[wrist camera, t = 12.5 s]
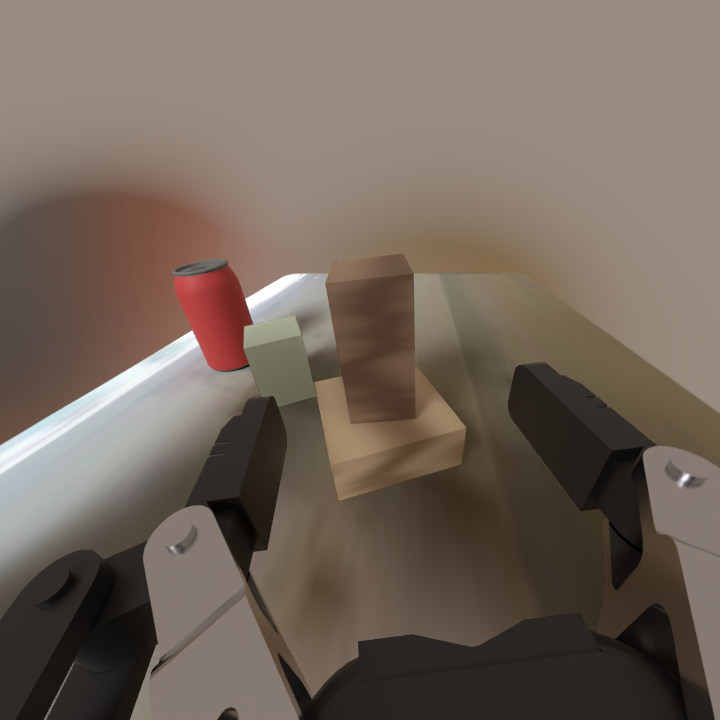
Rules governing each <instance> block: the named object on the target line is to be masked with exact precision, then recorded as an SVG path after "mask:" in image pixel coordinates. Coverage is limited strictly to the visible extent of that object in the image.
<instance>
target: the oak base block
mask: <svg viewBox="0 0 720 720" xmlns="http://www.w3.org/2000/svg"><path fill="white" fill-rule="evenodd" d="M314 384H315V389H316V394H317V399H318V404H319V409H320V414H321V419H322V425H323V430H324V435H325V440H326V445H327V450H328V455H329V461H330V466H331V470H332V474H333V478H334V482H335V486H336V490H337V494H338V499H339V501H340V500H343V499H347V498H350V497H353V496H357V495H360V494H363V493H367V492H370V491H373V490H377V489H380V488H384V487H387V486H390V485H394V484H397V483H400V482H404V481H407V480H411V479H414V478H417V477H421V476H424V475H427V474H431V473H434V472H437V471H441V470H444V469H448V468H451V467H454V466H458V465H461V464H462V459H463V451H464V443H465V435H466V427H465V425H464V424H463V423H462V422H461V420H460V419H459V418H458V417H457V415H456V414H455V413H454V412H453V410H452V409H451V408H450V407H449V405H448V404H447V403H446V402H445V400H444V399H443V398H442V397H441V395H440V394H439V393H438V392H437V390H436V389H435V388H434V387H433V385H432V384H431V383H430V382H429V380H428V379H427V378H426V377H425V375H424V374H423V373H422V372H421V370H420V369H419V368H418V367H417V365H416V364H415V408H416V419H412V420H399V421H386V422H372V423H359V424H351V423H350V418H349V412H348V406H347V401H346V395H345V390H344V384H343V379H342V376H339V377H335V378H330V379H326V380H321V381H317V382H314Z"/></svg>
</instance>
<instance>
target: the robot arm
mask: <svg viewBox="0 0 720 720" xmlns="http://www.w3.org/2000/svg"><path fill="white" fill-rule="evenodd" d="M508 409H509V413H510V416H511V418H512V420H513V421H514V422H515V424H516V425H517V426H518V428H519V429H520V430H521V432H522V433H523V434H524V436H525V437H526V438H527V440H528V441H529V442H530V444H531V445H532V446H533V448H534V449H535V450H536V452H537V453H538V454H539V456H540V457H541V458H542V460H543V461H544V462H545V464H546V465H547V466H548V468H549V469H550V470H551V472H552V473H553V475H554V476H555V477H556V479H557V480H558V481H559V483H560V484H561V485H562V487H563V488H564V489H565V491H566V492H567V493H568V495H569V496H570V497H571V499H572V500H573V501H574V503H575V504H576V505H577V507H578V508H579V509H580V511H584V510H592V509H600V510H601V511H602V512H603V513H604V515H605V517H604V519H603V522H602V539H603V571H604V598H603V604H602V607H601V610H600V613H599V618H598V624H597V633H596V632H593V631H589V629H588V627H587V626H586V624H585V622H584V620H583V619H582V617H581V615H580V613H573V614H565V615H558V616H550V617H542V618H535V619H527V620H524V621H522V622H520V623H518V624H517V625H515V626H513V627H511V628H509V629H508V630H506V631H504V632H502V633H501V634H499V635H497V636H495V637H494V638H492V639H490V640H488V641H486V642H485V643H483V644H481V645H479V646H476V647H469V646H464V645H459V644H454V643H450V642H445V641H441V640H436V639H431V638H427V637H422V636H417V635H413V634H412V635H404V636H397V637H389V638H381V639H374V640H366V641H358V650H359V657H357V658H356V659H354V660H352V661H350V662H348V663H347V664H346V665H344V666H343V667H342V668H340V669H339V670H338V671H336V672H335V673H334V674H333V675H332V676H331V677H330V678H329V679H328V680H327V681H326V682H325V683H324V685H323V686H322V687H321V688H320V690H319V691H318V692H317V694H316V695H315V696H314V697H313V695H312V693H311V691H310V689H309V687H308V685H307V683H306V681H305V679H304V677H303V675H302V673H301V671H300V669H299V667H298V665H297V663H296V661H295V659H294V657H293V655H292V654H291V652H290V650H289V648H288V647H287V645H286V643H285V641H284V639H283V637H282V635H281V633H280V631H279V629H278V627H277V625H276V623H275V621H274V619H273V617H272V614H271V612H270V610H269V608H268V606H267V604H266V602H265V600H264V598H263V596H262V594H261V592H260V589H259V587H258V585H257V583H256V581H255V579H254V577H253V575H252V573H251V571H250V569H249V568H250V563H251V559H252V554H253V552H255V551H262V550H267V548H268V543H269V538H270V532H271V527H272V522H273V516H274V511H275V506H276V501H277V495H278V490H279V485H280V480H281V474H282V469H283V464H284V459H285V453H286V448H287V435H286V430H285V426H284V423H283V420H282V417H281V414H280V411H279V408H278V406H277V403H276V400H275V398H274V397H273V396H267V397H259V398H251V399H248V401H247V403H246V405H245V408H244V410H243V412H242V415H241V416H234V417H233V418H232V419H231V420H230V421H229V422H228V423H227V424H226V425H225V426H224V427H223V428H222V429H221V432H220V434H219V436H218V438H217V440H216V442H215V446H213V449H212V451H211V453H210V458H208V459H207V461H206V463H205V466H204V468H203V470H202V472H201V474H200V476H199V478H198V480H197V483H196V485H195V487H194V489H193V491H192V493H191V495H190V497H189V500H188V502H187V504H186V506H185V508H183V509H181V510H179V511H177V512H175V513H174V514H172V515H171V516H169V517H168V518H167V519H166V520H164V521H163V522H162V523H161V524H160V525H159V526H158V527H157V528H156V530H155V531H154V532H153V533H152V535H151V536H150V538H149V540H148V541H146V542H144V543H142V544H139V545H137V546H135V547H132V548H130V549H128V550H125V551H123V552H121V553H118V554H116V555H114V556H111V557H109V558H107V559H103V558H102V557H101V556H99V555H98V554H97V553H96V552H94V551H92V550H80V551H76V552H73V553H70V554H68V555H66V556H64V557H62V558H60V559H58V560H57V561H55V562H54V563H52V564H51V565H49V566H48V567H46V568H45V569H44V570H43V571H41V572H40V573H39V574H38V575H37V576H36V577H35V578H34V579H33V580H31V581H30V583H29V584H28V585H27V586H26V587H25V588H24V589H23V590H22V592H21V593H20V594H19V595H18V597H17V598H16V599H15V601H14V602H13V604H12V605H11V606H10V608H9V609H8V610H7V612H6V613H5V615H4V616H3V617H2V619H1V620H0V720H44V718H45V716H46V714H47V712H48V710H49V708H50V706H51V704H52V702H53V700H54V698H55V697H56V695H57V693H58V691H59V689H60V687H61V685H62V683H63V681H64V679H65V677H66V675H67V673H68V671H69V669H70V667H71V665H72V663H74V666H73V668H72V670H71V672H70V674H69V676H68V678H67V680H66V682H65V684H64V686H63V688H62V690H61V692H60V694H59V696H58V698H57V700H56V702H55V704H54V706H53V708H52V710H51V712H50V714H49V716H48V718H47V720H130V718H131V715H132V712H133V709H134V706H135V703H136V700H137V698H138V695H139V692H140V689H141V686H142V683H143V680H144V678H145V675H146V672H147V669H148V666H149V663H150V660H151V658H152V655H153V652H154V649H155V646H156V645H157V644H158V645H159V651H160V660H159V664H158V665H156V666H155V667H154V668H153V670H152V672H151V675H150V682H149V693H150V702H151V709H152V716H153V720H720V468H718V467H717V466H716V465H714V464H712V463H711V462H709V461H708V460H706V459H704V458H702V457H700V456H698V455H696V454H693V453H691V452H688V451H685V450H682V449H678V448H674V447H668V446H657V445H656V444H654V443H653V442H652V441H651V440H649V439H648V438H647V437H646V436H645V435H643V434H642V433H641V432H640V431H638V430H637V429H636V428H635V427H634V426H632V425H631V424H630V423H629V422H627V421H626V420H625V419H624V418H622V417H621V416H620V415H619V414H618V413H616V412H615V411H614V410H613V409H611V408H608V407H607V404H605V403H604V402H603V401H602V400H600V399H599V398H596V397H595V395H594V394H593V393H592V392H591V391H589V390H588V389H587V388H586V387H584V386H583V385H582V384H580V383H578V382H576V381H574V380H572V379H570V378H568V377H566V376H564V375H562V376H561V375H560V374H559V373H557V372H556V371H555V370H554V369H553V368H551V367H550V366H549V365H548V364H546V363H544V362H540V363H532V364H524V365H519V366H517V367H516V369H515V372H514V376H513V381H512V386H511V390H510V395H509V400H508Z"/></svg>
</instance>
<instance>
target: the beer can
mask: <svg viewBox="0 0 720 720" xmlns="http://www.w3.org/2000/svg"><path fill="white" fill-rule="evenodd" d="M227 264H228V262H227V261H226V260H223V259H215V260H206V261H200V262H195V263H192V264H187V265H184V266H181V267H178V268H176V269H175V270H173V275H175V290H176V295H177V297H178V299H179V301H180V304H181V306H182V308H183V310H184V312H185V315H186V317H187V319H188V321H189V323H190V326H191V328H192V330H193V332H194V334H195V336H196V339H197V341H198V343H199V345H200V347H201V350H202V352H203V354H204V356H205V358H206V360H207V363H208V365H209V366H210V367H211V368H213V369H214V370H218V371H232V370H237V369H240V368H243V367H245V366H247V365H249V363H248V360H247V357H246V354H245V352H244V349H243V346H244V326H249V325H253V322H252V319H251V316H250V313H249V310H248V307H247V304H246V301H245V298H244V295H243V292H242V289H241V286H240V283H239V280H238V278H237V277H236V275H235V274H234V272H233V271H232V270H231V268H230V267H229V266H228V265H227Z"/></svg>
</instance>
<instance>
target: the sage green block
mask: <svg viewBox="0 0 720 720" xmlns="http://www.w3.org/2000/svg"><path fill="white" fill-rule="evenodd" d="M243 349H244V352H245V354H246V357H247V360H248V363H249V365H250V368H251V371H252V373H253V376H254V379H255V382H256V384H257V387H258V390H259V392H260V395H261V397H267V396H273V397H274V398H275V400H276V403H277V406H278V407H281V406H285V405H288V404H292V403H295V402H299V401H302V400H306V399H309V398H313V397H316V392H315V388H314V384H313V380H312V375H311V371H310V367H309V363H308V359H307V355H306V350H305V346H304V342H303V338H302V334H301V331H300V329H299V326H298V323H297V321H296V318H295V315H294V316H289V317H285V318H280V319H276V320H271V321H267V322H262V323H258V324H253V325H249V326H244V346H243Z"/></svg>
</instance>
